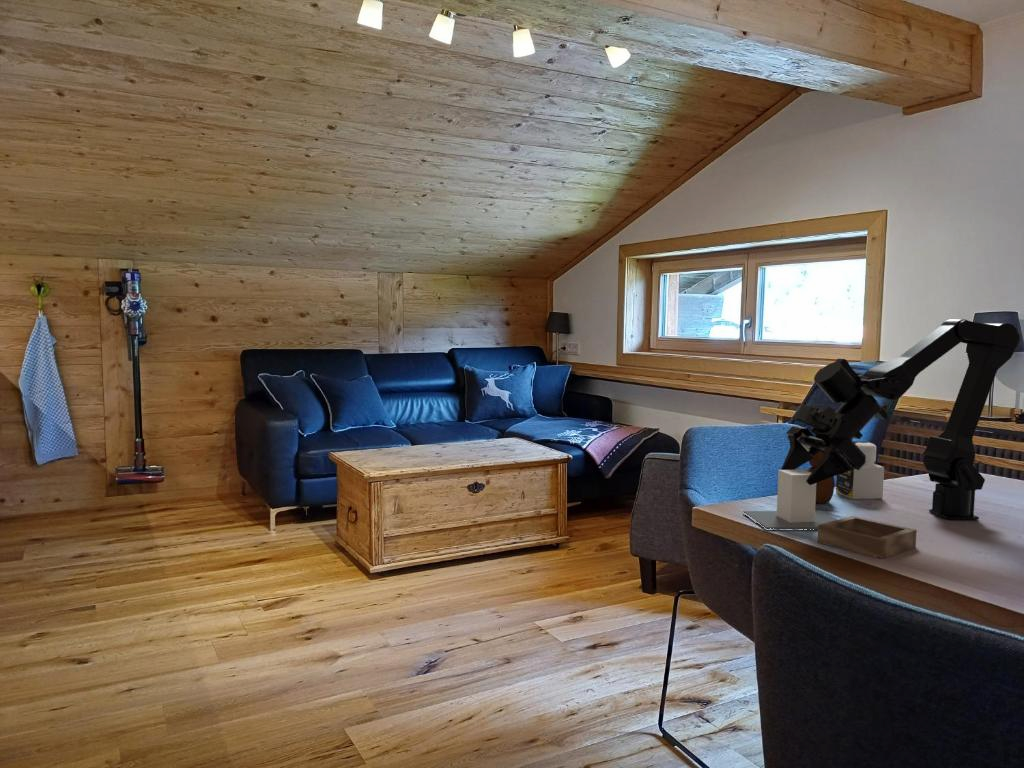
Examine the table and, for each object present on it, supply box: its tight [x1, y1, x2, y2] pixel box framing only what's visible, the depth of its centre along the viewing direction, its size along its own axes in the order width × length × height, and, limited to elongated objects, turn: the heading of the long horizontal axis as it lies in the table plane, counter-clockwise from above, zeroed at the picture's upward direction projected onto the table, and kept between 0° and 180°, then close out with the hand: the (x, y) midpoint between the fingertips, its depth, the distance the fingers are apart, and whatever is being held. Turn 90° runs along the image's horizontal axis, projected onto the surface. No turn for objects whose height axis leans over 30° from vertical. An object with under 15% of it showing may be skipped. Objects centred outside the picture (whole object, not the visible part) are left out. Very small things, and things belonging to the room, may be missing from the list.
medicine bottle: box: [835, 440, 885, 500], centre depth 170 cm, size 7×7×12 cm
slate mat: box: [742, 510, 839, 531], centre depth 147 cm, size 16×12×1 cm
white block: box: [776, 468, 817, 523], centre depth 147 cm, size 5×5×9 cm
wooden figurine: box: [806, 450, 835, 505], centre depth 163 cm, size 7×6×15 cm
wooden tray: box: [816, 515, 918, 559], centre depth 133 cm, size 11×11×3 cm
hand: (794, 478), depth 147 cm, fingers open, 9 cm apart
